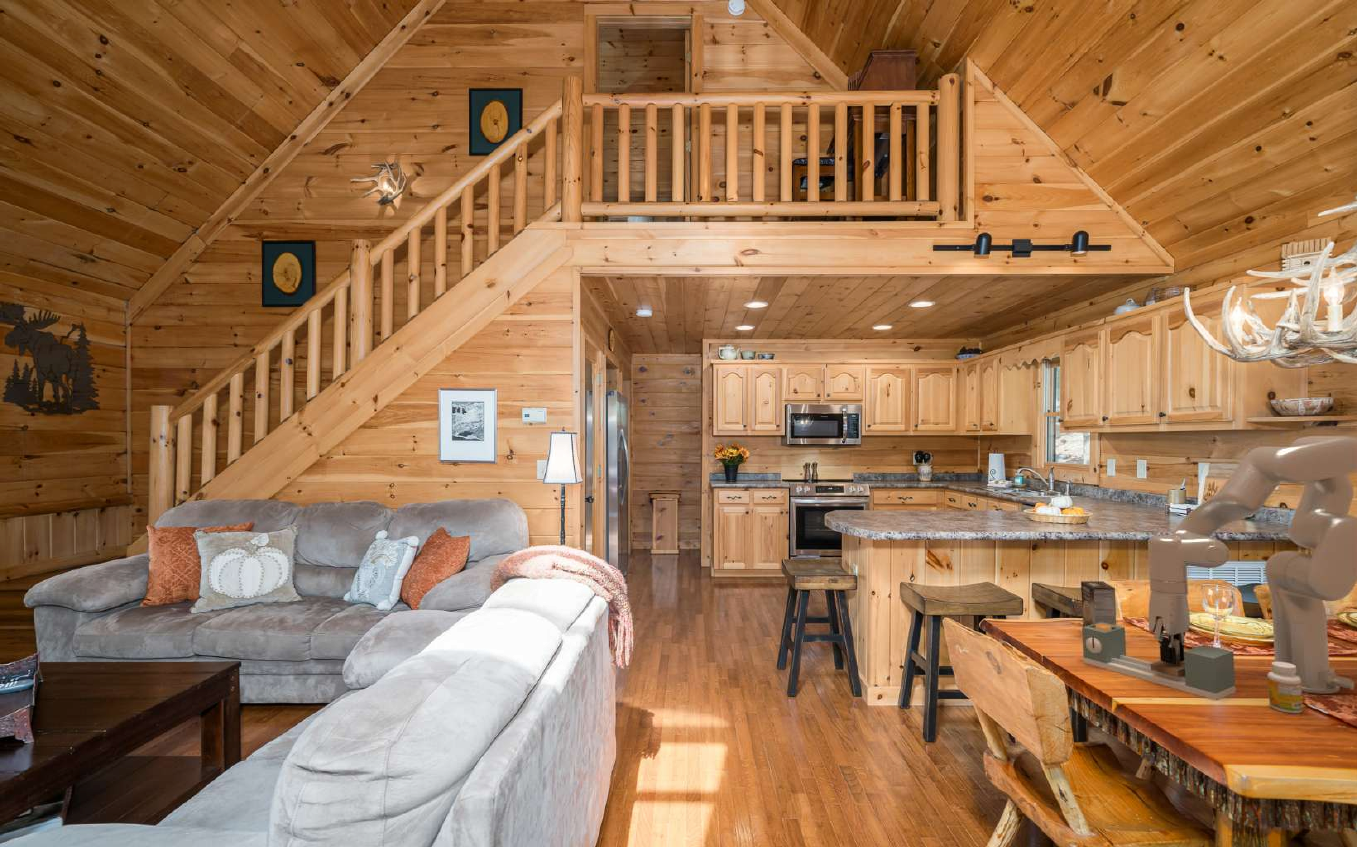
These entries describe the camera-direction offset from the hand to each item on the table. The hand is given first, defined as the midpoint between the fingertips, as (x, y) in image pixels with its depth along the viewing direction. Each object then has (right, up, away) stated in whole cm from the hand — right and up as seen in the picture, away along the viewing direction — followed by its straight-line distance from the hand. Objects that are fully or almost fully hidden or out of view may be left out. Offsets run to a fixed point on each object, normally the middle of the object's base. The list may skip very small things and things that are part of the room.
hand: (1172, 660), depth 162 cm
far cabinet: (-8, -4, +14) cm, 17 cm away
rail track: (-2, -5, +4) cm, 7 cm away
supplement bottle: (+12, -5, -17) cm, 22 cm away
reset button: (-8, +1, +14) cm, 16 cm away
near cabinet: (+4, -3, -7) cm, 8 cm away
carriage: (0, -2, 0) cm, 2 cm away
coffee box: (+5, -6, +35) cm, 36 cm away
